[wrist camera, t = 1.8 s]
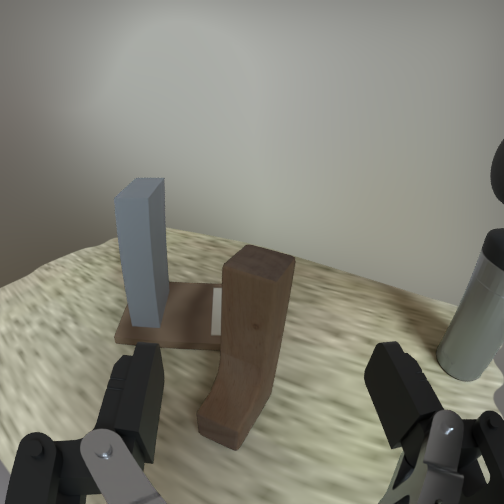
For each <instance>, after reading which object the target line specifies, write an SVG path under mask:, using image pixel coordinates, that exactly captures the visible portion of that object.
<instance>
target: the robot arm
mask: <svg viewBox="0 0 504 504" xmlns="http://www.w3.org/2000/svg"><path fill="white" fill-rule="evenodd" d="M491 185H492V189H493V191H494V194H495V195H496V197H497V198H498V200H500V201H501V202H502V203H503V204H504V139H503V141H502V142H501V144H500V145H499V147H498V149H497V151H496V153H495V156H494V159H493V162H492V166H491ZM503 341H504V228H501V229H493V230H491V231H490V232H489V233H488V234H487V236H486V238H485V241H484V244H483V247H482V250H481V253H480V255H479V258H478V261H477V263H476V266H475V269H474V272H473V274H472V276H471V279H470V281H469V284H468V286H467V289H466V291H465V293H464V296H463V298H462V300H461V302H460V305H459V306H458V309H457V311H456V313H455V315H454V317H453V319H452V321H451V323H450V325H449V327H448V329H447V331H446V333H445V335H444V337H443V339H442V340H441V342H440V344H439V346H438V348H437V351H436V354H437V359H438V361H439V363H440V365H441V366H442V368H443V369H444V370H445V371H446V372H447V373H448V374H450V375H451V376H453V377H455V378H457V379H459V380H462V381H473V380H476V379H478V378H479V377H480V376H481V374H482V373H483V371H484V370H485V369H486V368H487V367H488V365H489V364H490V362H491V361H492V359H493V358H494V356H495V354H496V353H497V351H498V350H499V348H500V346H501V345H502V343H503ZM364 380H365V384H366V387H367V389H368V392H369V394H370V396H371V399H372V401H373V404H374V406H375V409H376V411H377V414H378V416H379V419H380V421H381V424H382V426H383V429H384V432H385V434H386V437H387V439H388V442H389V445H390V447H391V449H394V448H398V447H402V448H403V452H402V453H401V455H400V458H399V460H398V463H397V466H396V469H395V471H394V474H393V477H392V479H391V482H390V484H389V487H388V489H387V492H386V493H385V495H384V496H383V498H382V499H381V500H380V501H379V503H378V504H504V420H503V419H502V417H501V416H500V415H499V414H498V413H496V412H494V411H485V412H484V413H482V414H481V416H480V417H479V418H478V419H461V418H460V416H459V415H458V414H456V413H455V412H453V411H451V410H444V408H443V407H442V405H441V403H440V401H439V399H438V398H437V396H436V394H435V392H434V390H433V389H432V387H431V385H430V383H429V382H428V381H427V378H426V376H425V375H424V373H422V369H421V368H420V366H419V364H418V363H417V361H416V360H415V359H414V358H413V357H411V356H410V355H409V354H408V353H404V351H403V350H402V348H401V346H400V345H399V343H398V342H396V341H393V342H383V343H378V344H377V345H376V347H375V349H374V351H373V353H372V356H371V358H370V360H369V362H368V364H367V367H366V369H365V373H364ZM163 389H164V369H163V363H162V358H161V351H160V346H159V344H158V343H146V342H137V344H136V347H135V351H134V354H133V356H128V355H123V356H122V357H121V358H120V359H119V360H118V361H117V362H116V363H115V365H114V367H113V370H112V373H111V376H110V379H109V382H108V385H107V389H106V392H105V395H104V399H103V402H102V405H101V409H100V412H99V416H98V419H97V423H96V425H95V427H94V429H93V430H92V431H91V432H89V433H88V434H86V435H85V436H84V438H81V439H78V440H69V441H53V440H52V439H51V438H50V437H49V436H47V435H46V434H43V433H40V432H34V433H30V434H28V435H26V436H25V437H24V438H23V439H22V440H21V442H20V444H19V447H18V450H17V454H16V457H15V461H14V465H13V469H12V473H11V477H10V481H9V485H8V490H7V495H6V500H5V504H86V495H91V494H102V495H103V496H104V498H105V500H106V501H107V503H108V504H167V503H166V502H165V501H164V499H163V498H162V497H161V496H160V494H159V493H158V492H157V491H156V490H155V488H154V487H153V485H152V484H151V483H150V481H149V480H148V478H147V477H146V476H145V474H144V473H143V470H144V463H151V464H153V461H154V453H155V445H156V437H157V430H158V422H159V415H160V409H161V402H162V395H163ZM481 455H482V456H483V458H484V461H485V463H486V466H487V468H488V471H489V473H490V481H489V483H488V484H487V483H486V481H485V478H484V476H483V473H482V471H481V468H480V466H479V463H478V461H477V458H479V457H480V456H481Z"/></svg>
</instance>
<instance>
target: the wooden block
mask: <svg viewBox="0 0 504 504" xmlns="http://www.w3.org/2000/svg"><path fill="white" fill-rule="evenodd" d="M294 268H295V257H293V256H291V255H287V254H283V253H280V252H276V251H272V250H269V249H265V248H261V247H257V246H254V245H246V246H244V247H243V248H242V249H241V250H240V251H239V252H237V253H236V254H235V255H234V256H233V257H231V258H230V259H229V260H228V261H227V262H226V263H224V265H223V268H222V298H221V348H220V363H219V369H218V374H217V376H216V379H215V381H214V384H213V386H212V389H211V391H210V393H209V395H208V396H207V398H206V399H205V401H204V402H203V404H202V405H201V407H200V408H199V410H198V411H197V421H198V429H199V433H200V434H201V435H203V436H205V437H207V438H209V439H211V440H213V441H215V442H217V443H219V444H222V445H224V446H226V447H228V448H230V449H233V450H237V449H239V448H240V446H241V444H242V443H243V441H244V439H245V438H246V436H247V435H248V433H249V431H250V429H251V428H252V426H253V424H254V423H255V421H256V419H257V418H258V416H259V414H260V412H261V411H262V409H263V407H264V405H265V404H266V402H267V400H268V398H269V396H270V395H271V392H272V387H273V382H274V378H275V373H276V368H277V363H278V358H279V352H280V347H281V342H282V336H283V331H284V326H285V320H286V315H287V309H288V303H289V298H290V292H291V286H292V280H293V274H294Z"/></svg>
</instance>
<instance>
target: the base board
mask: <svg viewBox="0 0 504 504" xmlns="http://www.w3.org/2000/svg"><path fill="white" fill-rule="evenodd" d="M221 298H222V284H207V283H181V282H169V295H168V298H167V302H166V306H165V310H164V314H163V318H162V322H161V326H160V328H151V327H138V326H132V323H131V318H130V313H129V307H128V304H127V306H126V308H125V311H124V313H123V316H122V318H121V321H120V323H119V326H118V328H117V331H116V334H115V336H114V338H115V342H116V343H117V344H127V345H136V344H137V342H146V343H158V344H159V346H160V347H163V348H178V349H198V350H220V348H221Z"/></svg>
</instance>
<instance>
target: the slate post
mask: <svg viewBox="0 0 504 504" xmlns="http://www.w3.org/2000/svg"><path fill="white" fill-rule="evenodd" d="M114 203H115V214H116V224H117V234H118V242H119V250H120V258H121V265H122V272H123V278H124V285H125V291H126V296H127V302H128V307H129V313H130V318H131V323H132V326H138V327H151V328H160V326H161V322H162V318H163V314H164V310H165V306H166V302H167V298H168V295H169V278H168V263H167V246H166V225H165V187H164V178H136V179H134V180H133V181H132V182H131V183H130V184H129V185H128V186H127V187H126V188H125V189H123V190H122V191H121V192H120V193H119V194H118V195H117V196H116V197H115V198H114Z"/></svg>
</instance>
